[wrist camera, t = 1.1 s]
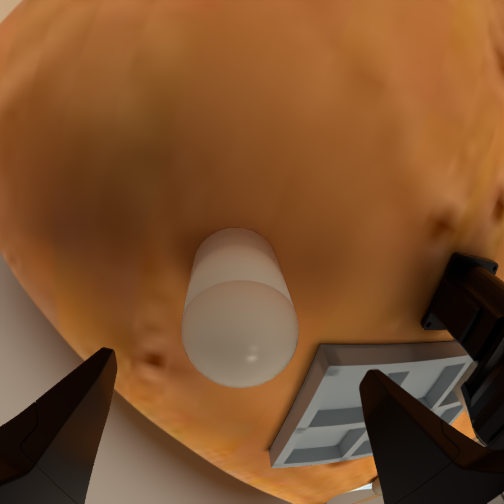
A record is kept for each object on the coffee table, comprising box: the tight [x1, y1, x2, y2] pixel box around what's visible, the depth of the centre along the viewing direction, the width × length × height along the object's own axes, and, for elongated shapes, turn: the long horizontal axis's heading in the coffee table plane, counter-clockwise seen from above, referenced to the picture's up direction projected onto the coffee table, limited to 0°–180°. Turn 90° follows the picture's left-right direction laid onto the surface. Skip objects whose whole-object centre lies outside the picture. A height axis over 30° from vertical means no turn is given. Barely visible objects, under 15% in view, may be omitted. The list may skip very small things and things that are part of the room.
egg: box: [181, 228, 299, 388], centre depth 13 cm, size 5×5×8 cm
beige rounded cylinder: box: [452, 361, 477, 416], centre depth 20 cm, size 5×5×8 cm
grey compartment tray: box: [269, 341, 473, 468], centre depth 23 cm, size 24×16×2 cm
